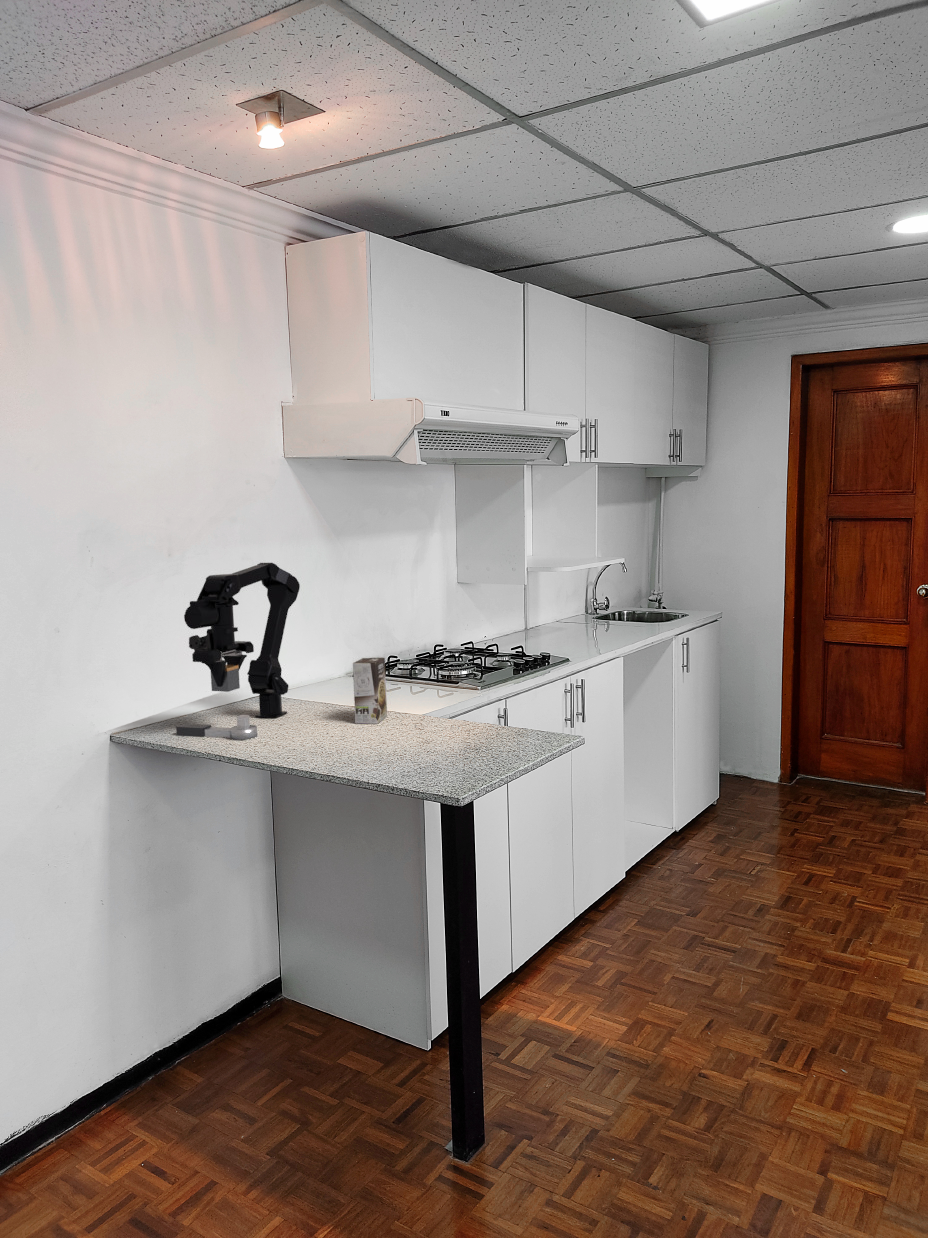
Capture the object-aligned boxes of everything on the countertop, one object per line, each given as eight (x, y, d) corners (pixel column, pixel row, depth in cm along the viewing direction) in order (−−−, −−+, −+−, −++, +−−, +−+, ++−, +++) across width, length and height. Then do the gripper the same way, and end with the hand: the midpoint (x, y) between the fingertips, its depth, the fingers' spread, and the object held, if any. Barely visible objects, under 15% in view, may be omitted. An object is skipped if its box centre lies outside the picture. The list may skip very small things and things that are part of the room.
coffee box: (378, 724, 239) (375, 662, 237) (354, 724, 240) (351, 662, 239) (388, 716, 248) (385, 656, 246) (365, 716, 249) (362, 657, 247)
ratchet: (188, 730, 239) (186, 710, 238) (262, 734, 232) (260, 713, 231) (173, 736, 233) (171, 715, 232) (248, 741, 226) (247, 719, 225)
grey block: (223, 687, 241) (222, 664, 240) (239, 688, 239) (238, 665, 238) (211, 690, 236) (210, 667, 236) (228, 691, 234) (227, 668, 234)
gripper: (217, 619, 247) (220, 677, 249) (172, 628, 230) (176, 690, 232) (253, 620, 243) (256, 679, 245) (210, 629, 226) (213, 692, 228)
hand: (225, 684), depth 237 cm, fingers closed on grey block, 5 cm apart
